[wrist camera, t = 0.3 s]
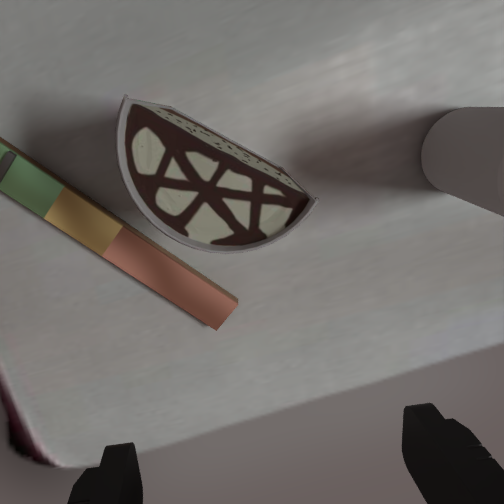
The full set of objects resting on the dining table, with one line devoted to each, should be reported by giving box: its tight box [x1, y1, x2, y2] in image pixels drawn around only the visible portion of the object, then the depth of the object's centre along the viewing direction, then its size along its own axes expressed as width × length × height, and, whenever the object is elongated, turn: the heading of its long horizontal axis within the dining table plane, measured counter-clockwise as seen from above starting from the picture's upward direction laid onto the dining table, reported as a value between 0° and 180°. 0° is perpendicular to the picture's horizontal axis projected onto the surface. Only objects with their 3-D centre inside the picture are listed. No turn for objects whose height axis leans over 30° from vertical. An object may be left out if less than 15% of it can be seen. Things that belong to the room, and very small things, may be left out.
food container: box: [115, 94, 319, 254], centre depth 28 cm, size 12×6×10 cm, turn 62°
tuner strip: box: [0, 137, 238, 331], centre depth 33 cm, size 3×24×2 cm, turn 52°
